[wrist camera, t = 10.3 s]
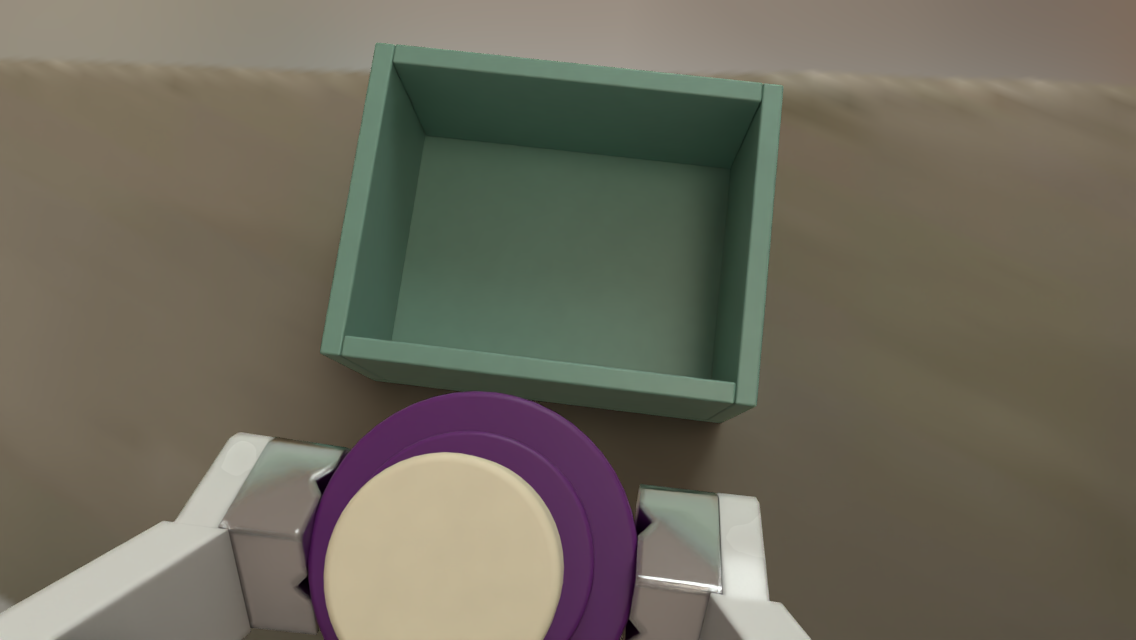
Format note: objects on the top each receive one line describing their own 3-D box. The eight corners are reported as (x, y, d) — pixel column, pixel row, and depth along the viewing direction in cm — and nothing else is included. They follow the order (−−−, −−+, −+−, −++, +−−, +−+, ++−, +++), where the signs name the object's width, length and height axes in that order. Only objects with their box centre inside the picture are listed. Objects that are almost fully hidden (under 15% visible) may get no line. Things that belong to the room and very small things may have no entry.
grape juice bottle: (635, 437, 16) (673, 389, 8) (611, 656, 15) (627, 836, 7) (430, 412, 16) (273, 341, 8) (396, 627, 15) (190, 771, 8)
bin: (745, 163, 26) (784, 84, 21) (721, 423, 24) (756, 406, 19) (415, 126, 26) (375, 41, 21) (372, 380, 25) (318, 353, 20)
